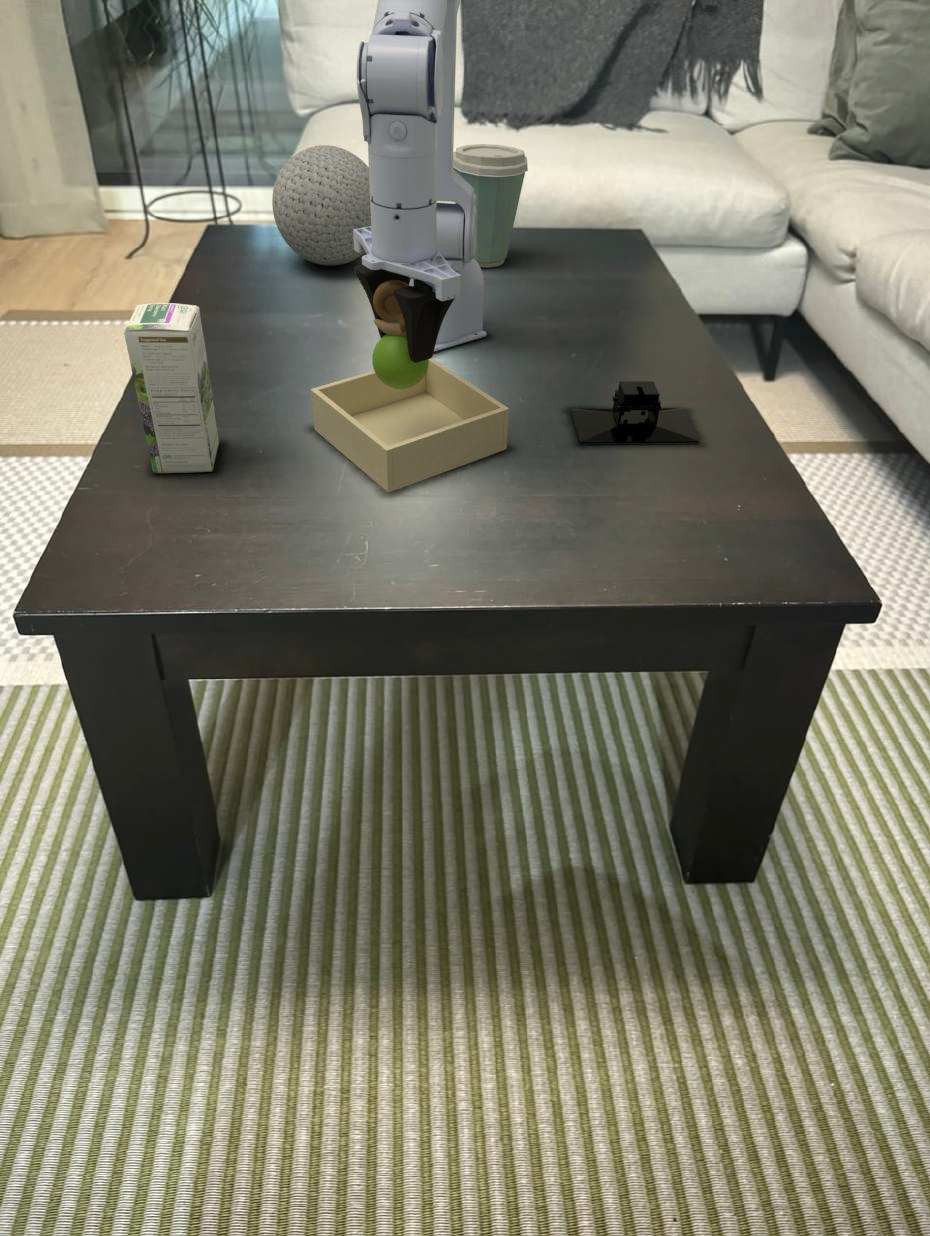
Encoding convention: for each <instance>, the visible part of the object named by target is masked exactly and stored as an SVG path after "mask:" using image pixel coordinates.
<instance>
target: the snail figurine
mask: <svg viewBox="0 0 930 1236" xmlns="http://www.w3.org/2000/svg"><path fill="white" fill-rule="evenodd" d="M408 286H410V285H408V284H407V283H405V282H402V281H399V280H389V281H386V282H384V283H382V284H381V285H379V286H378V288H377V289H376V291H375V293H374V297H373V304H374V308H375V311H376V313H377V314H378V315H379V316H380V317H381V318H382V319H383V320H379V319H375V318H374V320H373V323H374V325H375V326H376V327H378V328H379V329H380V330H381V331H383V332H384V333H386V335H385V336H383V337H382V338H380V339H379V340H378V341H377V343H376V344H375V346H374V349H373V350H372V351H373V352H372V357H371V358H372V359H371V360H372V368H373V371H375V373H376V375H377V376H378V378H379V379H380V380H381V381H382V382H383V383H384V384H386V385H387V386H389V387H392V388H395V389H407V388H410V387H413V386H415V385H416V384H418V383H419V382H420V381H421V380H422V379H423V377H424V376H425V374H426V372H427V369H428V364H429V359H427V360H424V361H421V362H417V363H414V362H413V361H411V359H410V356H409V352H408V345H407V336H406V327H405V323H404V318H403V315H402V312H401V309H400V306H399V304H398V302H397V299H396V297H395V296H394V290H396V289H400V288H404V287H408ZM378 328H377V329H378Z"/></svg>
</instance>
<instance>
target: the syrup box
mask: <svg viewBox="0 0 930 1236" xmlns="http://www.w3.org/2000/svg"><path fill="white" fill-rule="evenodd" d="M200 310H201V309H200V307H199V306H197V305H194V304H185V303H176V302H175V303H173V302H157V303H156V302H153V303H143V304H136V306H135V309H134V310H133V313H132V315H131V316H130V319H129V321H128V324H127V326H126V327H125V330H124V332H123V335H124V340H125V345H126V350H127V354H128V358H129V364H130V369H131V374H132V378H133V383H134V388H135V393H136V397H137V402H138V407H139V411H140V416H141V417H140V418H141V421H142V425H143V430H144V436H145V440H146V445H147V449H148V454H149V459H150V463H151V469H152V472H153V473H155V474H174V473H175V474H177V473H178V474H180V473H181V474H182V473H183V474H184V473H209V472H213V471H214V467H215V463H216V459H217V455H218V450H219V446H220V434H219V428H218V427H219V426H218V421H217V414H216V408H215V402H214V401H215V400H214V394H213V389H212V388H213V387H212V381H211V375H210V368H209V362H208V355H207V349H206V344H205V337H204V331H203V324H202V318H201V311H200Z"/></svg>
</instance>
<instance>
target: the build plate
mask: <svg viewBox="0 0 930 1236" xmlns="http://www.w3.org/2000/svg"><path fill="white" fill-rule="evenodd" d="M660 395H661V394H660V392H659V390H658V387H657V386H656V383H655V382H654V381H651V380H650V381H649V380H648V381H647V380H646V381H645V380H642V381H641V380H640V381H639V380H638V381H636V380H635V381H629V380H627V381H625V380H624V381H621V380H620V381H619V382H618V389H615V392H614V396H613V397H612V401H613V404H612V408H571V409H570V412H569V413H570V416H571V420H572V422H573V423H572V424H573V427H574V430H575V433H576V437H577V440H578V443H579V445H581V446H587V445H588V446H594V445H595V446H596V445H597V446H599V445H601V446H603V445H604V446H606V445H607V446H608V445H609V446H610V445H611V446H612V445H698V444H699V443H700V439H699V437H698V436H697V435H698V434H697V433H696V431H695V429H694V427H693V425H692V423H691V421H690V419H689V417H688V414H687V412H686V410H685V409H684V408H682V407H662V403H661V400H660Z"/></svg>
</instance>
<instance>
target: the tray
mask: <svg viewBox="0 0 930 1236" xmlns="http://www.w3.org/2000/svg"><path fill="white" fill-rule="evenodd" d="M310 396H311V397H310V398H311V408H312V418H313V428H314V431H315V432H317V433H318V434H319V435H320V436H321V437H322V438H323V439H324V440H326V441H327V442H328V443H330V444H331V445H332V446H333V447H334V448H335V449H336V450H337V451H339V452H340V453H341V454H342V455H343V456H345V457H346V459H348V460H349V461H350V462H352V464H354V465H355V466H356V467H358V469H360V470H361V472H363V473H364V474H366V475H367V476H368V477H369V478H370V479H371V480H373V481H374V482H375V483H376V484H377V485H378V486H379V487H380V488H382V489H383V490H384V491H385V492H387V493H392V492H394V491H397V490H400V489H402V488H405V487H408V486H411V485H413V484H415V483H416V484H417V483H419V482H421V481H424V480H427V479H429V478H432V477H435V476H439V475H440V474H443V473H446V472H449V471H451V470H454V469H456V468H460V467H462V466H465V465H468V464H470V463H473V462H475V461H478V460H482V459H485V458H486V457H489V456H492V455H494V454H498V453H500V452H503V451H505V450H507V447H508V445H507V444H508V431H509V414H510V407H507V406H506V405H504V404H502V403H501V402H500V401H499V400H497V399H495V398H493V397H492V396H491V395H489V394H488V393H486V392H485V391H483V390H482V389H480V388H479V387H477V386H475V385H474V384H472V383H471V382H469V381H468V380H467V379H465V378H463V377H461V375H459V374H458V373H455V371H453V370H451V368H448V367H447V366H445V365H443V364H442V363H441V362H439V361H437V360H436V359H434V358H433V357H432V358H431V359H429V364H428V369H427V372H426V374H425V376H424V377H423V379H422V380H421V381H420V382H419V383H418V384H416V385H415V386H413V387H410V388H407V389H395V388H392V387H389V386H387V385H386V384H384V383H383V382H382V381H381V380H380V379H379V378H378V376H377V375H376V373H375V371H374V370H371V371H367V372H364V373H361V374H357V375H354V376H350V377H348V378H344V379H340V380H337V381H334V382H331V383H326V384H323V385H320V386H317V387H313V388H310Z"/></svg>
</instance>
